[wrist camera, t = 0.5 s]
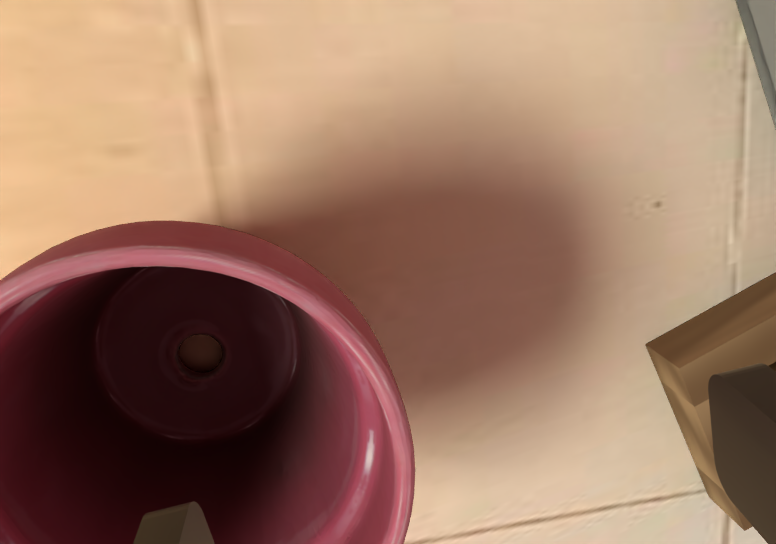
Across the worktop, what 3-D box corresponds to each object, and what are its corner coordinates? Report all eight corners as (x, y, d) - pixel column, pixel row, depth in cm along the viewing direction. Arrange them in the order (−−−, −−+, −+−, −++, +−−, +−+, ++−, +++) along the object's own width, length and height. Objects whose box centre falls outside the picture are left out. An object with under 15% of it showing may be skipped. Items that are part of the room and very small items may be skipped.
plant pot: (-21, 208, 29) (-221, 310, 17) (329, 146, 31) (378, 198, 19) (79, 516, 33) (-24, 776, 21) (382, 446, 35) (450, 649, 23)
